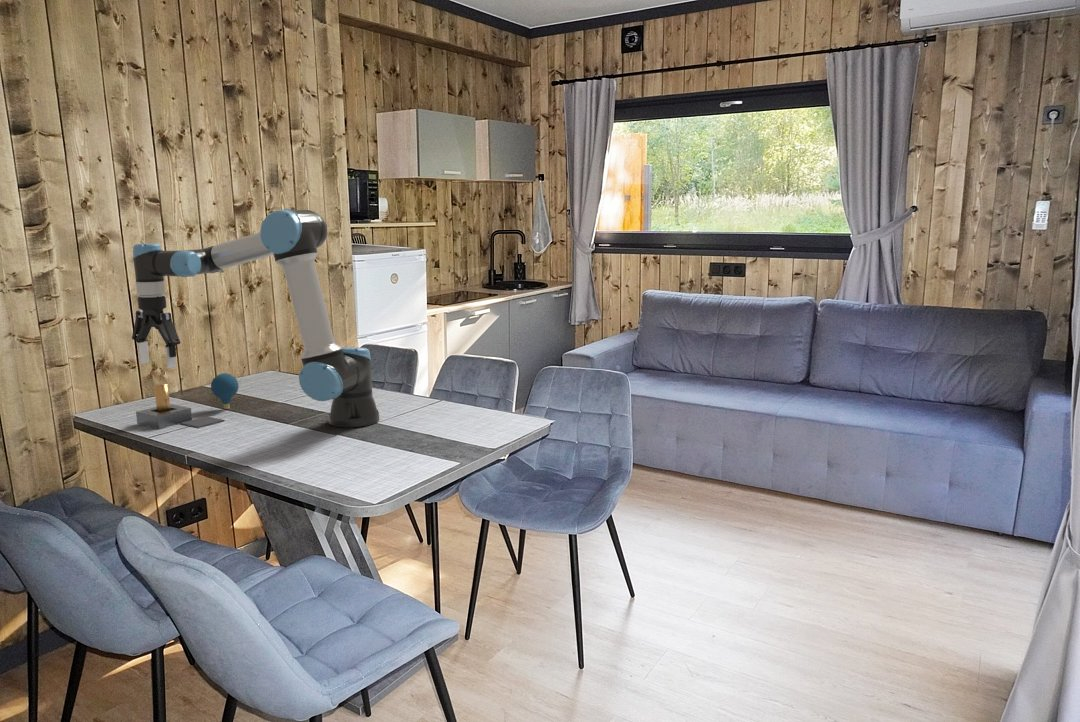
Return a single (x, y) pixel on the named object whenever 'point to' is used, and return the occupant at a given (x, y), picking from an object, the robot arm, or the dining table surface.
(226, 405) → the light bulb
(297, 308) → the robot arm
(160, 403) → the golden cylinder
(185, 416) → the block
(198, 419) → the mat
